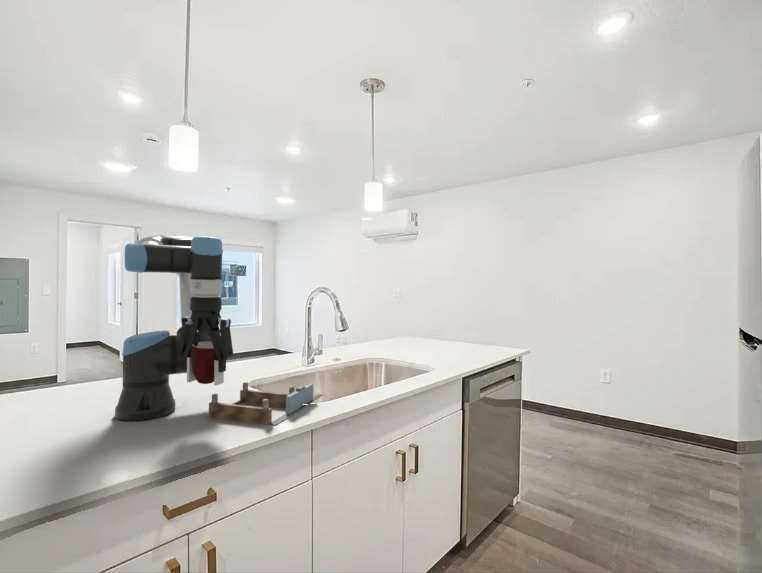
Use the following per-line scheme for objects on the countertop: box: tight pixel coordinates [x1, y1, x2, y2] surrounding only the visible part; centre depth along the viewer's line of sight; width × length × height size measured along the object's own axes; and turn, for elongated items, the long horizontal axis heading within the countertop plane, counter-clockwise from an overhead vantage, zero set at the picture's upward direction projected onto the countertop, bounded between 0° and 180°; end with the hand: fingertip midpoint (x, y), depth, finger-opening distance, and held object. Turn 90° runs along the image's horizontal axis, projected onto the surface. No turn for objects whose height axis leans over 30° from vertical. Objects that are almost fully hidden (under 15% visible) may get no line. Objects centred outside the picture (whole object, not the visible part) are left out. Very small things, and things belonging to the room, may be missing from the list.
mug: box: [191, 341, 222, 385], centre depth 102 cm, size 10×8×10 cm
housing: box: [208, 381, 324, 427], centre depth 122 cm, size 22×31×6 cm
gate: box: [285, 383, 314, 414], centre depth 120 cm, size 2×15×6 cm, turn 164°
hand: (205, 382), depth 102 cm, fingers closed on mug, 8 cm apart
